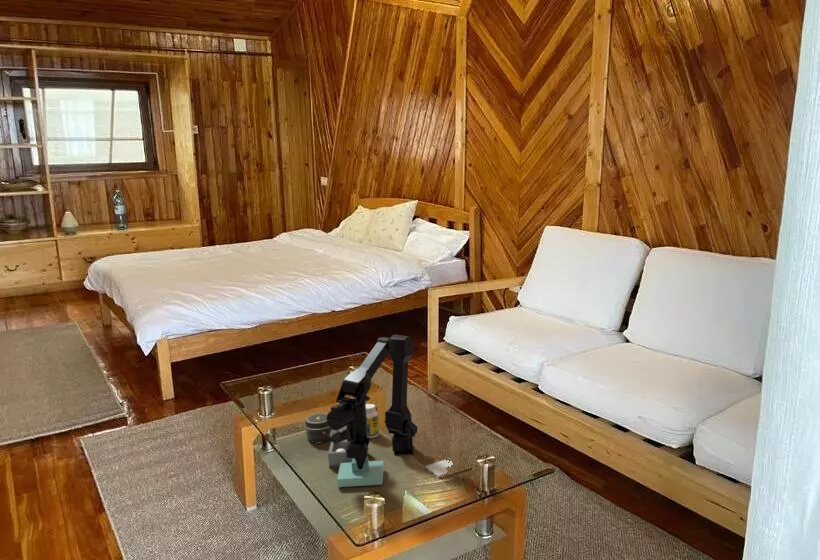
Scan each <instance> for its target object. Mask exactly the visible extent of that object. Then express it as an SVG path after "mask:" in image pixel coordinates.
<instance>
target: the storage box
mask: <svg viewBox="0 0 820 560" xmlns="http://www.w3.org/2000/svg"><path fill="white" fill-rule="evenodd" d="M349 444H350V442H347V439H346V440H344V441H342V442H339V443H338V444H336V445H334V444H333V442H331V441H330V445H329V449H328V453H327V456H328V457H327V458H328V467H329V469H330V468H331V469H336V468H338V469H339V468H340V464H341V463H351V462H352V459H355V458H347V457H346V448H347V446H348V445H349ZM366 458H369V455H368V456H367V457H366Z"/></svg>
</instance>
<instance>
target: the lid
mask: <svg viewBox="0 0 820 560" xmlns="http://www.w3.org/2000/svg"><path fill="white" fill-rule="evenodd" d="M384 468H385V467H384V460H371V461H370V460H369V457H368V458H366V459H365V462H364V465H363V468H362V469H358V466H357V463H356V461H355V459H352V462H351V463H341V464H340V467H339V468H338V475H337V479H336V480H337V487H338V488H343V487H345V488H348V487H359V486H360V487H362V486H364V487H365V486H380V485H383V483H384V482H383V481H384Z"/></svg>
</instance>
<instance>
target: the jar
mask: <svg viewBox="0 0 820 560" xmlns="http://www.w3.org/2000/svg"><path fill="white" fill-rule="evenodd" d="M327 415H328V412H327V413H325V412H319V413H313V414H311V415H309V416H307V417H305V420H304V422H305V423H304V424H305V425H304V426H305V434H306V438H307V440H308V441H309V440H310V441H313V442H323V443H327V442H329V441H331V438H330V432H331V430H333V429H331V428H330V427H329V425H328V423H327V419H326V417H327ZM310 441H309V442H310Z"/></svg>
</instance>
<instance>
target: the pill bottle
mask: <svg viewBox="0 0 820 560" xmlns="http://www.w3.org/2000/svg"><path fill="white" fill-rule="evenodd" d="M366 416H367V420H368V421H367V423H368V424H369V425H370V428H371V433H370V434H369V435H368V437H370V439H374V438H377V437H378V436H379V435H380V427H379V414H378V411H377V410H376V405H375V404H374V403H366Z"/></svg>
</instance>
